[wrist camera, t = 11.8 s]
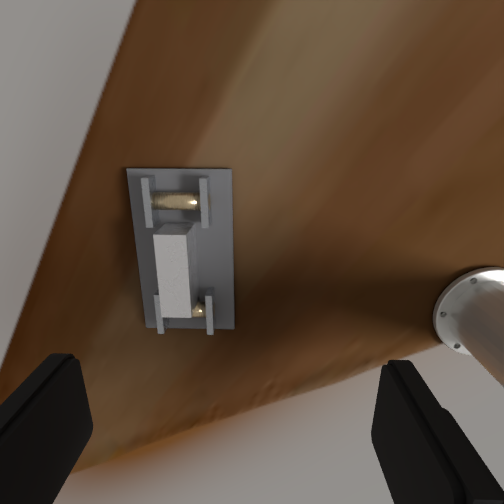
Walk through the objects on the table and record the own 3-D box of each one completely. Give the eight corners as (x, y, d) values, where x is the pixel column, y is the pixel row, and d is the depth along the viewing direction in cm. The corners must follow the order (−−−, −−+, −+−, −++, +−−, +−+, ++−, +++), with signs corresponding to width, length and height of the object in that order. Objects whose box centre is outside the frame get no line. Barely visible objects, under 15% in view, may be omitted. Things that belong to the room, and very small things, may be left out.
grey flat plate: (231, 168, 37) (231, 169, 37) (234, 326, 44) (234, 329, 44) (128, 168, 38) (126, 168, 37) (147, 325, 45) (146, 327, 44)
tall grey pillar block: (195, 223, 39) (185, 235, 34) (199, 297, 42) (191, 317, 38) (166, 222, 39) (153, 234, 34) (172, 297, 42) (161, 317, 38)
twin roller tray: (210, 175, 37) (206, 178, 35) (216, 324, 44) (213, 334, 41) (148, 175, 37) (140, 178, 35) (163, 323, 44) (157, 333, 41)
